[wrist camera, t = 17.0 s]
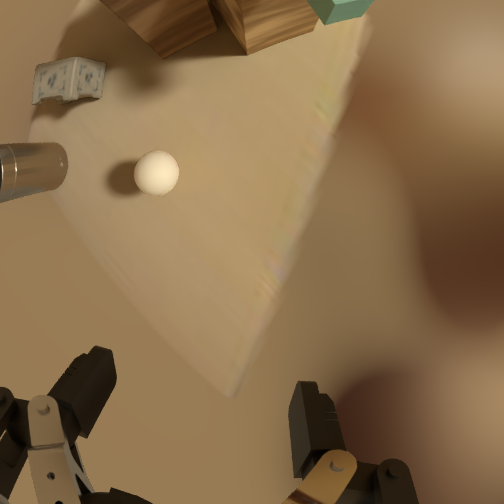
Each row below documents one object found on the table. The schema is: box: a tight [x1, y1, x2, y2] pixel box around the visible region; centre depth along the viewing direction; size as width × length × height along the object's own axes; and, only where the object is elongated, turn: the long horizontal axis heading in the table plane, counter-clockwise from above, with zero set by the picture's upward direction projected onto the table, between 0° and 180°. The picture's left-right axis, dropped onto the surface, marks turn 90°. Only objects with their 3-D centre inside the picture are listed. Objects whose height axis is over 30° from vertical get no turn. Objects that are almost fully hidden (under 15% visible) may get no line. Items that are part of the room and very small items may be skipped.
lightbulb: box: [134, 151, 179, 196], centre depth 38 cm, size 6×6×11 cm
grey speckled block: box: [32, 57, 106, 105], centre depth 33 cm, size 10×8×10 cm
